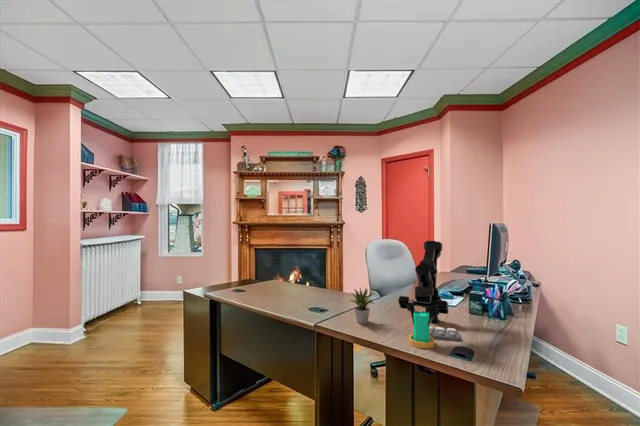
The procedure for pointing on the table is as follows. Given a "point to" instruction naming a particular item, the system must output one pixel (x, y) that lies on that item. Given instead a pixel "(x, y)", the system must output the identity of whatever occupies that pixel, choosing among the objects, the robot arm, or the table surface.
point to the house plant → (362, 306)
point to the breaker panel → (444, 333)
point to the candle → (421, 326)
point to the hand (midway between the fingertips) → (420, 324)
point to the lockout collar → (421, 344)
